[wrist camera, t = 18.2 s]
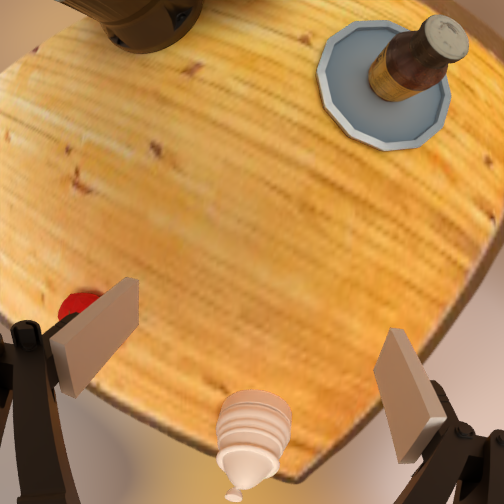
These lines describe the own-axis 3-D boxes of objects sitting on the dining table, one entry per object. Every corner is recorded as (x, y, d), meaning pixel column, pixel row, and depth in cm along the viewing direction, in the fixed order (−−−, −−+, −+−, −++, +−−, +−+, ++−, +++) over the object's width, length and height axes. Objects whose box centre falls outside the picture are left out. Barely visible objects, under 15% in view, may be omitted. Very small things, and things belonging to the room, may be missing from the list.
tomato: (128, 308, 50) (103, 333, 42) (106, 344, 54) (83, 369, 46) (87, 273, 50) (57, 292, 42) (69, 312, 53) (43, 332, 45)
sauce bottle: (395, 54, 34) (458, -6, 15) (417, 95, 35) (497, 60, 16) (354, 70, 35) (399, 8, 16) (377, 111, 37) (442, 80, 18)
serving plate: (304, 31, 35) (304, 25, 33) (425, 26, 32) (430, 21, 30) (333, 157, 40) (334, 157, 38) (453, 144, 37) (460, 144, 35)
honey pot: (262, 444, 56) (250, 518, 39) (208, 414, 55) (182, 488, 38) (306, 412, 52) (305, 494, 35) (248, 377, 51) (229, 461, 34)
